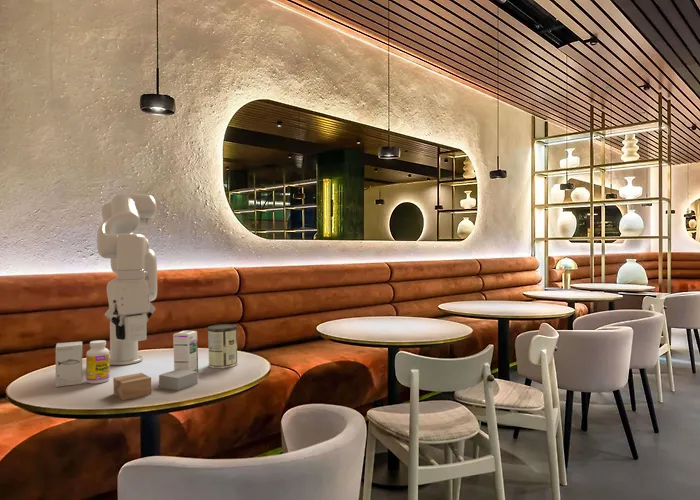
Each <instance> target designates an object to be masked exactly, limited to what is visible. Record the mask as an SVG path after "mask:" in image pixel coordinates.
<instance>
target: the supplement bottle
mask: <svg viewBox="0 0 700 500" xmlns="http://www.w3.org/2000/svg"><path fill="white" fill-rule="evenodd" d="M106 345H107V340H104V339H103V340H101V339H100V340H99V339H98V340H91V341H90V342H89V347H90V349H89V350H87V351H86V359H85V360H86V365H85V367H86V371H85V372H86V382H87V383H88V384H102V383H103V384H104V383H106V382H108V381H109V380H110V377H111V376H110V374H111V373H110V367H111V365H110V363H109V358H110V354H109V351H110V349H109V348H107V347H106Z"/></svg>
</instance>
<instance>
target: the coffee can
mask: <svg viewBox="0 0 700 500" xmlns="http://www.w3.org/2000/svg"><path fill="white" fill-rule="evenodd" d="M237 331H238V325H236V324H231V323H230V324H229V323H224V324H221V323H220V324H213V325H210V326H208V327H207V335H208V336H207V337H208V338H207V339H208V341H207V343H208V345H207V346H208V347H207V348H208V367H209V368H210V369H211V368H212V369H229V368H233V367H236V366H237V365H238V337H237V336H238V333H237Z"/></svg>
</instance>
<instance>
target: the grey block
mask: <svg viewBox="0 0 700 500" xmlns="http://www.w3.org/2000/svg"><path fill="white" fill-rule="evenodd" d="M198 374H199V371H198V372H196V371H189V370H182V369H177V370H174V369H173V370H171V371H167V372H164V373H162V374H159V375H158V387H159V388H163V389H168V390H174V391H180V390H183V389H186V388H189V387H192V386H195V385H197V384H198V383H199V381H198V380H199V379H198V376H199V375H198Z"/></svg>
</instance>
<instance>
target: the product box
mask: <svg viewBox="0 0 700 500" xmlns="http://www.w3.org/2000/svg"><path fill="white" fill-rule="evenodd" d="M147 323H148V322H147V316H146V315H139V314H135V315H127V316H126V317H125V318H124V322H123V326H125V339H124V340H121V339H117V341H121V342H126V343H132V342H137V341H138V342H140V341H146V340H147V339H148V338H147V335H148V334H147V333H148V329H147V328H148V327H147V326H148V325H147Z"/></svg>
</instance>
